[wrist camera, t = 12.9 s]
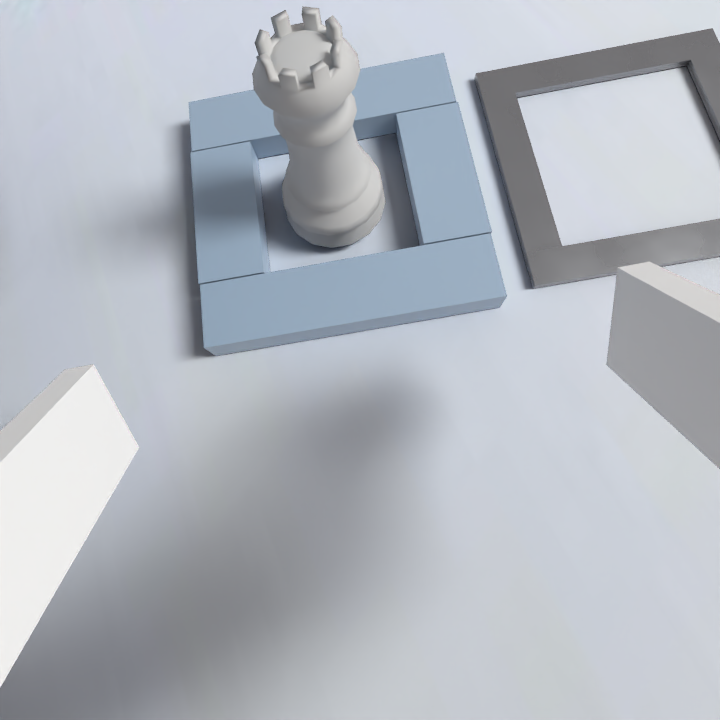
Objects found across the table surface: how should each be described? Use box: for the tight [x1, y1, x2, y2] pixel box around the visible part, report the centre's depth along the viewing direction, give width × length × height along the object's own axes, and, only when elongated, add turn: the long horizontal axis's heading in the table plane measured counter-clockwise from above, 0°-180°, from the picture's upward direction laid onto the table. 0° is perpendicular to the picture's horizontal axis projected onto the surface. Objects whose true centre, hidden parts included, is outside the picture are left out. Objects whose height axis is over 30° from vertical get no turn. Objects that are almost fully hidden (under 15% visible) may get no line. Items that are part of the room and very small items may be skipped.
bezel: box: [475, 28, 720, 289], centre depth 19 cm, size 11×11×1 cm
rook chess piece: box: [252, 7, 386, 248], centre depth 16 cm, size 4×4×8 cm
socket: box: [189, 53, 507, 356], centre depth 19 cm, size 12×12×1 cm
